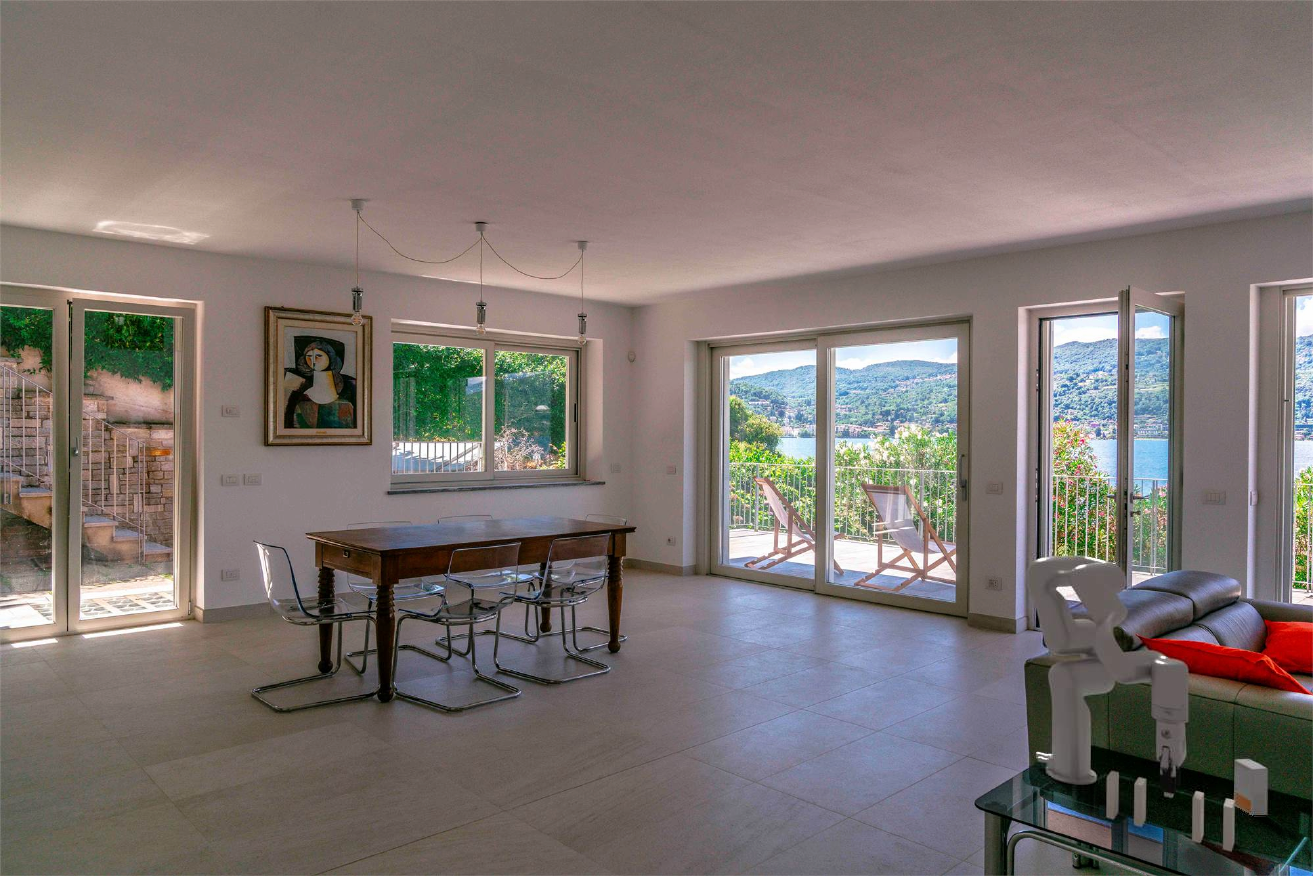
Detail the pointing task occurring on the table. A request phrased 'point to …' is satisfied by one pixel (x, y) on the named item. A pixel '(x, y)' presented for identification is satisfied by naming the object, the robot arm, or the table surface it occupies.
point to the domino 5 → (1228, 824)
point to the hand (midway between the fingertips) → (1170, 787)
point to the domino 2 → (1140, 802)
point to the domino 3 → (1174, 776)
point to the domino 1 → (1112, 794)
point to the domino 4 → (1198, 817)
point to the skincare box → (1250, 787)
